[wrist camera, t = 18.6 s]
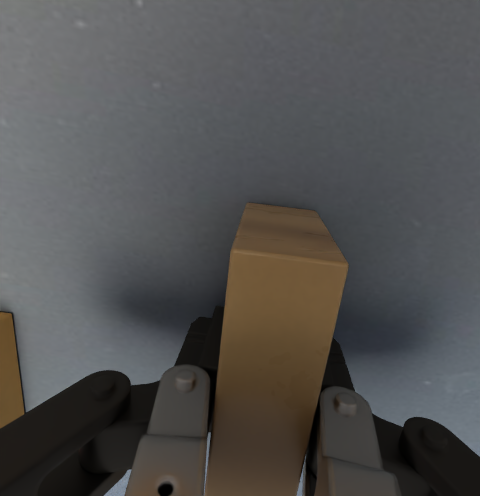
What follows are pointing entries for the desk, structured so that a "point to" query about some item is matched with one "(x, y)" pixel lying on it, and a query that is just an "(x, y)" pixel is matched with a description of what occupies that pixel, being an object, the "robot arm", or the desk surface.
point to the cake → (9, 373)
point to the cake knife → (272, 350)
